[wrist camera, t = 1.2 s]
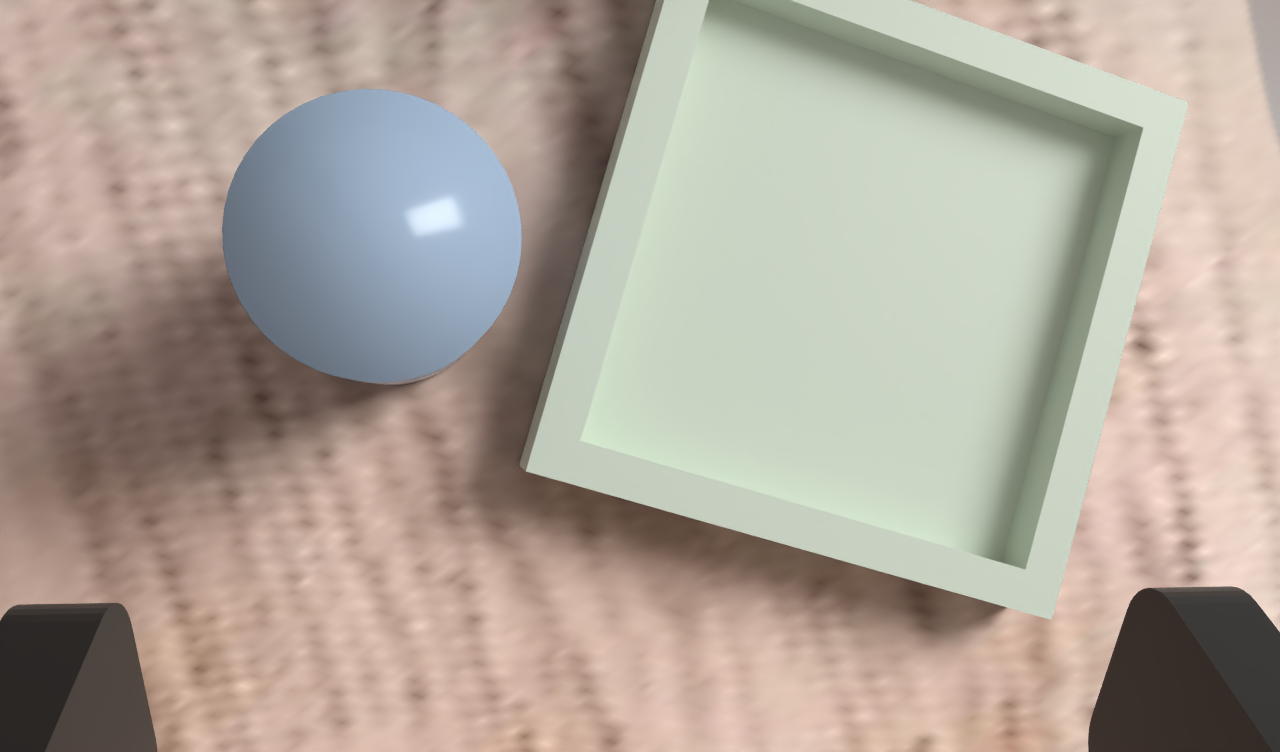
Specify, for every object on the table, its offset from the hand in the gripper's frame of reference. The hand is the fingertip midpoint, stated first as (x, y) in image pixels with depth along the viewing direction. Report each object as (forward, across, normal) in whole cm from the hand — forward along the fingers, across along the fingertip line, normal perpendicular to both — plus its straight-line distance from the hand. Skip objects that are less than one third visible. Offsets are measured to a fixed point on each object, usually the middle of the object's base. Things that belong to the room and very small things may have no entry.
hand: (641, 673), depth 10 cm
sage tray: (+26, -9, +9) cm, 29 cm away
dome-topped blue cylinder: (+25, +5, +9) cm, 27 cm away
